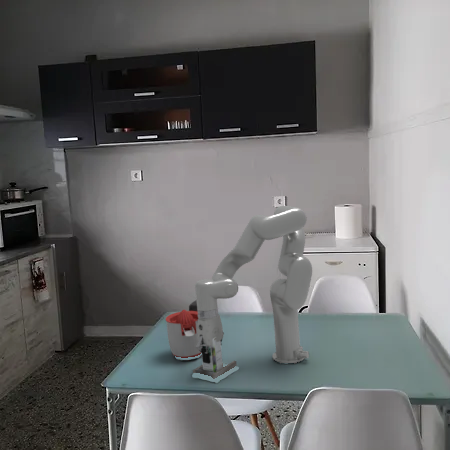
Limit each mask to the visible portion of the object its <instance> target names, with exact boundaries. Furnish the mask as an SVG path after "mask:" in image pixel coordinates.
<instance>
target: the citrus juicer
mask: <svg viewBox="0 0 450 450" xmlns="http://www.w3.org/2000/svg"><path fill="white" fill-rule="evenodd" d="M198 319H199V318H198V312H197V311H189V310H187V309H182V310H181V311H178V312H174V313H172V314H168V316H166V317H165V321H166V329H167V338H168V339H167V340H168V346H169V348H170V351H171V354H172V356H173V355H174V356H176V357H181V358H188V357H195V356H198V355H200V354H201V352H200V351H199V350H198V349H197V348H196V345H197V343H198V332H197V325H198ZM174 356H173V357H174Z"/></svg>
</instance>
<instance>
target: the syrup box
mask: <svg viewBox="0 0 450 450" xmlns="http://www.w3.org/2000/svg"><path fill="white" fill-rule="evenodd" d="M203 343H204V342H203ZM221 343H222V342H221V341H218V342H216V337H215V338H212V345H211V346H209V350H208V353H209V354H210V363H209V364H208V363H203V360H202V359H201V360H202V361H201V362H202V365H203V370H207V371H211V372H217V371H219V370H220V369H222V368H223V363H224V362H223V354H222V353H223V352H222V345H221ZM204 344H205V343H204ZM204 349H206V346H204Z"/></svg>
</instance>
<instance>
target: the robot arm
mask: <svg viewBox="0 0 450 450" xmlns="http://www.w3.org/2000/svg"><path fill="white" fill-rule="evenodd" d="M307 218H308V217H307V215H306V212H305V211H304V210H303V209H302V208H300V207H297V206H295V207H294V206H290V205H280V206H278V207H277V208H276V209H275V210H274V213H273V215H268V216H267V215H263V214H257V215H253V216H252V217H251V218H250V220H249V221H248V223H247V225H246V227H245V228H244V229H243V232H242V233H241V235H240V237H239V239H238V240H237V242H236V244H235V246H234V247H233V249H232V250H230V251H229V253H228V254H227V255H226V256H225V257H224V258H222V260H221V261H220V263H219V264H218V266H217V268H216V269H215V271H214V273H213V275H212V277H211V278H204V279H203V278H202V279H199V280H197V281H196V282H195V284H194V289H195V296H196V298H195V301H196V300H197V311H198V318H199V319H198V325H197V332H198V343H197V345H196V348H197V349H198V350H199V351H200V352H201V353H202V355H201V360H203V362H202V364H203V363H208V364H209V363H210V354H209V353H208V350H209V346H211V345H212V338H215V337H216V342H218V341H221V346H222V345H223V344H222V341H223V339H224V335H225V332H224V329H223V324H222V318H221V314H220V313H219V308H218V300H219V299H232V298H234V297H236V295H237V294H238V293H239V285H238V283H237V281H236V280H234V279H233V278H234V276H235V275H236V273H237V271H239V269H240V268H241V267H242V266H244V265H246V264H248V263H250V262H251V261H253V260H254V259H255V258H256V256H257V254H258V252H259V251H260V250H261V248H262V245H263V244H264V242H265V241H270V240H275V239H278V238H281V237H282V244H281V248H280V254H279V258H278V264H277V266H278V267H277V268H278V270H279V273H280V274H282V275H283V276H285V277H286V278H279V279H276V280H274V281H273V283H271V285H270V289H269V299H270V302H271V307H272V312H273V313H272V316H273V327H274V328H273V330H274V340H275V341H274V345H275V352H273V353H272V357H271V359H272V361H274V360H275V361H277V362H280V363H279V364H281V363H294V364H297V362H298V363H300V361H301V362H303V360H305V359H309V357H310V355H309V353H310V351H308V350H304V348H303V347H304V346H301V344H300V343H301V342H300V328H299V326H300V325H299V313H298V310H299V309H301V308H302V307H304V305H305V304H306V301H307V299H308V295H309V290H310V285H311V281H312V276H313V266H312V263H311V261H310V259H308V258H307V257H306V256H304V251H305V244H306V233H305V228H304V227H305V225H306V224H307V220H308V219H307ZM203 342H204V343H205V344H204V343H203ZM204 346H206V349H204ZM275 361H274V362H275ZM277 362H276V363H277Z"/></svg>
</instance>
